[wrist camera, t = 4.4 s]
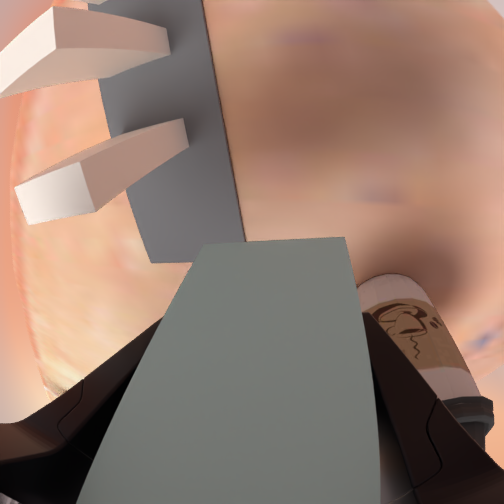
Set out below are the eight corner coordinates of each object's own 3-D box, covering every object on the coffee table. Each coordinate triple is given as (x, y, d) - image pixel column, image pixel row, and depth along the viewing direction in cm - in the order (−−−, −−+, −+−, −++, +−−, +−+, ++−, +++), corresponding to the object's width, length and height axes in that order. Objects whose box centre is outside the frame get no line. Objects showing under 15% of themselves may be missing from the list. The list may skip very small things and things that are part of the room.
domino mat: (248, 258, 22) (248, 260, 22) (152, 261, 24) (151, 263, 24) (190, -63, 9) (189, -64, 9) (88, -17, 11) (86, -18, 11)
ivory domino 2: (189, 146, 18) (96, 211, 9) (127, 159, 19) (28, 225, 11) (183, 117, 17) (79, 161, 8) (121, 134, 18) (14, 187, 9)
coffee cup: (451, 240, 18) (537, 413, 6) (433, 337, 24) (463, 475, 11) (311, 261, 21) (301, 470, 9) (326, 353, 27) (319, 500, 14)
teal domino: (343, 283, 10) (351, 583, 2) (215, 287, 12) (120, 545, 3) (344, 236, 9) (371, 597, 1) (203, 244, 11) (65, 531, 2)
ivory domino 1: (170, 54, 14) (56, 48, 6) (109, 77, 15) (-8, 100, 7) (166, 28, 13) (52, 6, 5) (104, 53, 14) (-12, 65, 6)
